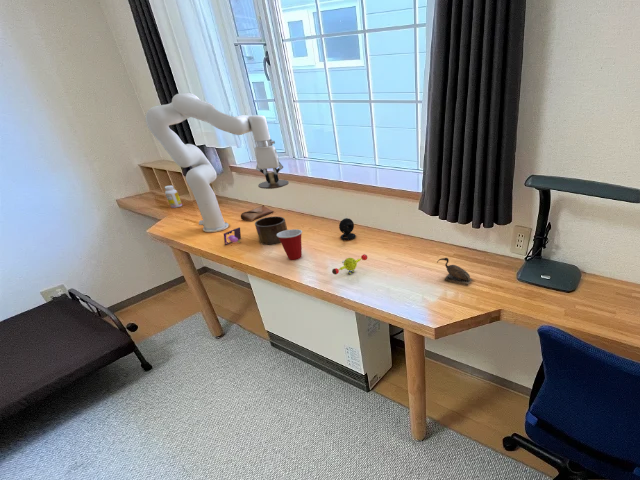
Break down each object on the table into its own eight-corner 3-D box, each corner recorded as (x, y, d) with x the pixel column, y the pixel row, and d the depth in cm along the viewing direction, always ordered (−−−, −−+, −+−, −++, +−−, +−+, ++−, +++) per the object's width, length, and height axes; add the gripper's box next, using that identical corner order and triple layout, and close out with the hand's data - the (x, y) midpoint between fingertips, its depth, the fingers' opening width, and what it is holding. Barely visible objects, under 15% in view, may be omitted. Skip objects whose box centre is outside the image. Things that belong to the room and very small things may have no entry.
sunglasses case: (252, 221, 202) (244, 210, 201) (246, 225, 206) (238, 215, 205) (275, 211, 216) (268, 201, 214) (269, 215, 220) (262, 206, 218)
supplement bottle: (181, 204, 235) (173, 184, 228) (183, 206, 231) (175, 186, 224) (170, 206, 232) (161, 186, 225) (171, 208, 227) (163, 188, 220)
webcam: (345, 242, 175) (342, 222, 170) (337, 237, 180) (334, 218, 175) (358, 237, 179) (356, 218, 174) (351, 233, 184) (348, 214, 179)
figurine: (434, 278, 142) (434, 258, 138) (439, 273, 146) (439, 253, 141) (468, 285, 137) (469, 265, 132) (472, 280, 140) (473, 260, 135)
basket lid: (255, 190, 178) (251, 176, 175) (262, 183, 191) (259, 169, 187) (286, 188, 180) (283, 174, 176) (291, 181, 192) (288, 168, 188)
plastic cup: (306, 250, 168) (300, 226, 162) (308, 259, 160) (303, 234, 153) (281, 254, 165) (275, 229, 159) (283, 264, 157) (276, 238, 150)
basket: (257, 246, 174) (251, 227, 169) (263, 235, 186) (258, 217, 180) (286, 243, 175) (281, 225, 170) (291, 233, 187) (286, 215, 182)
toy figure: (362, 263, 155) (360, 248, 152) (371, 266, 152) (370, 252, 149) (329, 279, 144) (326, 264, 140) (338, 283, 141) (336, 268, 137)
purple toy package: (238, 226, 178) (222, 232, 172) (246, 231, 177) (230, 237, 171) (239, 237, 183) (223, 244, 176) (246, 242, 182) (231, 249, 175)
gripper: (282, 141, 178) (290, 179, 188) (248, 143, 177) (258, 181, 187) (279, 144, 172) (288, 183, 182) (244, 146, 170) (254, 185, 180)
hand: (273, 182), depth 184 cm, fingers closed on basket lid, 3 cm apart
